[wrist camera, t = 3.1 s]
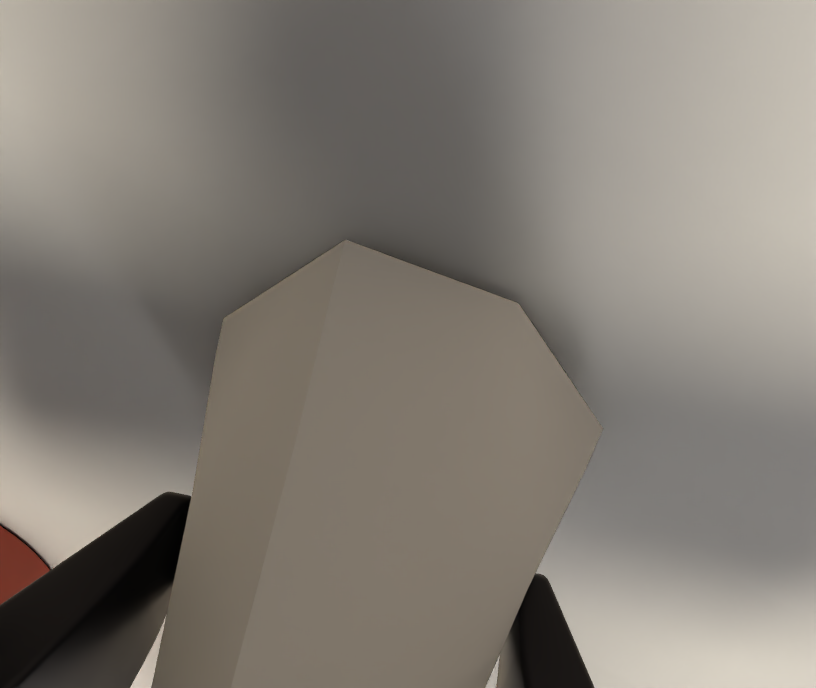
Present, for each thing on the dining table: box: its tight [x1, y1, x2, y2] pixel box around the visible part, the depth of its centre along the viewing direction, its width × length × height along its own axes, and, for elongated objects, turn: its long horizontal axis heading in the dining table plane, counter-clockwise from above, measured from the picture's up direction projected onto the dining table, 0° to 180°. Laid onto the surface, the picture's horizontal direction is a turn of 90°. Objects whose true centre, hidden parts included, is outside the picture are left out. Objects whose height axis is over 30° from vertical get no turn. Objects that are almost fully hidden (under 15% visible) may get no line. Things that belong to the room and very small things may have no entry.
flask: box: [151, 240, 603, 688], centre depth 8 cm, size 7×7×10 cm
